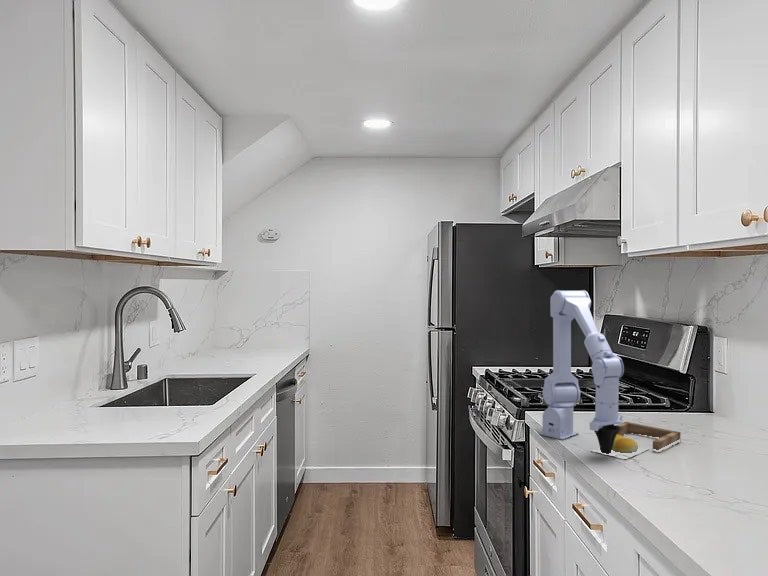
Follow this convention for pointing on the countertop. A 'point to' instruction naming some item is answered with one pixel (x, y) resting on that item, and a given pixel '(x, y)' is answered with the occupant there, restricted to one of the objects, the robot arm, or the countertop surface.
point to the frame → (650, 433)
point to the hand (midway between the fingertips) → (605, 452)
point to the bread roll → (624, 445)
